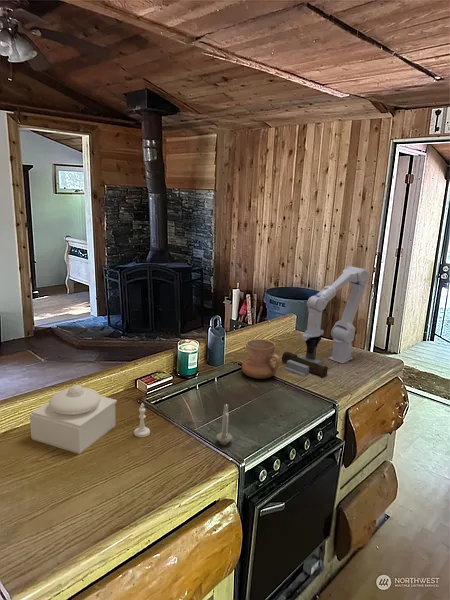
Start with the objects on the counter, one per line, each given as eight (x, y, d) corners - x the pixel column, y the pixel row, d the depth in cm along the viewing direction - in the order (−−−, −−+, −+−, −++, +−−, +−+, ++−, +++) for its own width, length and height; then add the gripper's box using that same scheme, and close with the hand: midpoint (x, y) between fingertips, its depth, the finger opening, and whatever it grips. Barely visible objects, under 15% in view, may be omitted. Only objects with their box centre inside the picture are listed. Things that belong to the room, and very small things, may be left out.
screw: (215, 438, 135) (230, 438, 136) (217, 447, 130) (233, 446, 131) (217, 400, 132) (232, 399, 133) (219, 408, 127) (235, 407, 128)
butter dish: (31, 439, 130) (28, 390, 126) (72, 413, 146) (71, 368, 142) (79, 454, 124) (78, 403, 120) (117, 425, 140) (116, 379, 136)
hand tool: (328, 376, 188) (329, 363, 186) (321, 378, 184) (323, 366, 183) (286, 360, 203) (287, 349, 202) (279, 362, 200) (280, 351, 199)
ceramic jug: (232, 373, 184) (233, 341, 181) (252, 364, 195) (254, 334, 191) (267, 387, 173) (269, 353, 170) (286, 377, 184) (289, 345, 180)
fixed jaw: (289, 366, 195) (290, 359, 194) (309, 373, 188) (309, 366, 187) (284, 369, 192) (284, 361, 191) (303, 376, 185) (304, 368, 184)
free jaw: (301, 361, 201) (303, 342, 199) (320, 368, 195) (322, 348, 192) (296, 364, 198) (298, 344, 196) (315, 370, 192) (317, 350, 189)
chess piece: (152, 430, 138) (153, 401, 135) (145, 438, 133) (145, 408, 131) (139, 427, 139) (139, 398, 137) (130, 435, 135) (130, 405, 132)
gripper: (315, 318, 200) (312, 346, 204) (297, 324, 190) (294, 353, 193) (328, 322, 196) (325, 350, 199) (311, 328, 185) (308, 358, 189)
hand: (311, 352), depth 196 cm, fingers closed on free jaw, 2 cm apart
